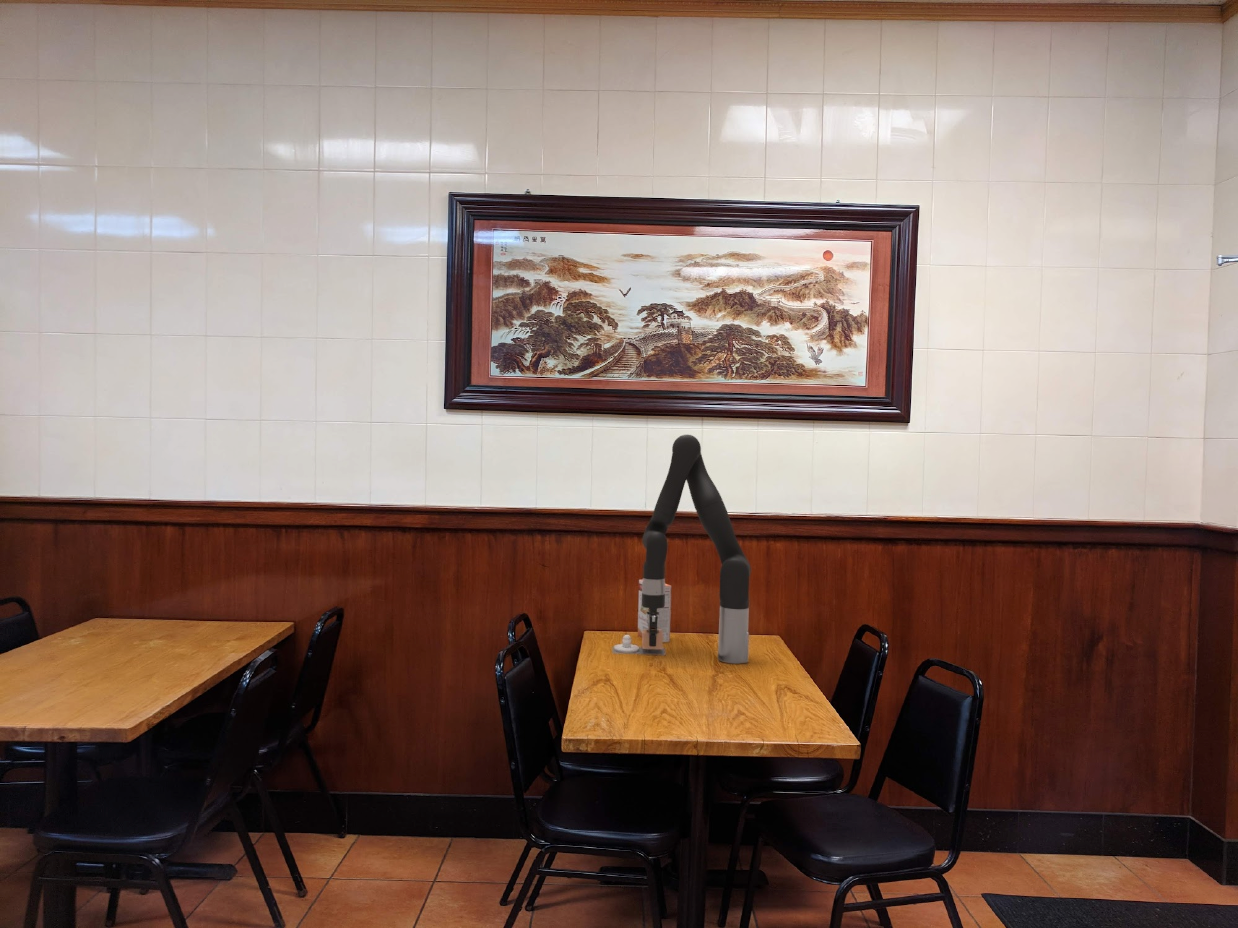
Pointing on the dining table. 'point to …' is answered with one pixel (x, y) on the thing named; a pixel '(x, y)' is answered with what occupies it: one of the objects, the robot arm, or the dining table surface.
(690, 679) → the dining table surface
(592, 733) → the dining table surface
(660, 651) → the hub base
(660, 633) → the collar
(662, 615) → the cracker box
